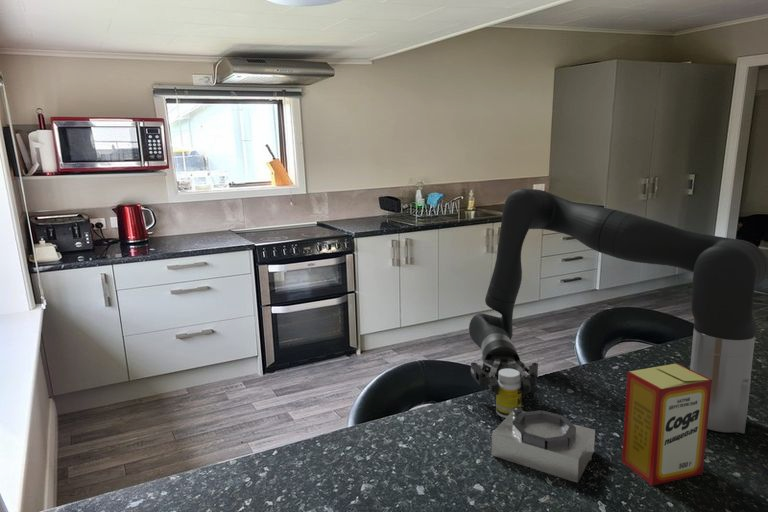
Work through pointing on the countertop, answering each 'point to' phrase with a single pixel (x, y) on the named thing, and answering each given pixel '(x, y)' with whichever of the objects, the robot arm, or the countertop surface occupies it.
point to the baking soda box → (666, 423)
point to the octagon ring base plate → (544, 443)
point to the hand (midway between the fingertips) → (511, 390)
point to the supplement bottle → (508, 392)
